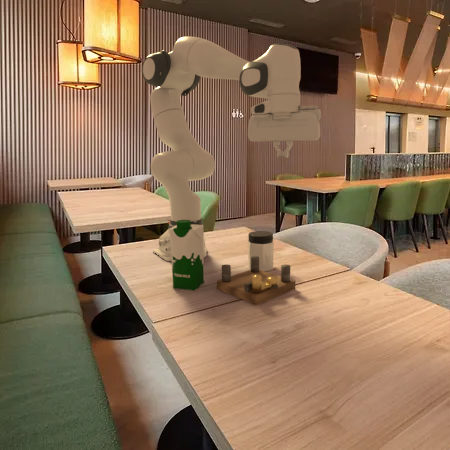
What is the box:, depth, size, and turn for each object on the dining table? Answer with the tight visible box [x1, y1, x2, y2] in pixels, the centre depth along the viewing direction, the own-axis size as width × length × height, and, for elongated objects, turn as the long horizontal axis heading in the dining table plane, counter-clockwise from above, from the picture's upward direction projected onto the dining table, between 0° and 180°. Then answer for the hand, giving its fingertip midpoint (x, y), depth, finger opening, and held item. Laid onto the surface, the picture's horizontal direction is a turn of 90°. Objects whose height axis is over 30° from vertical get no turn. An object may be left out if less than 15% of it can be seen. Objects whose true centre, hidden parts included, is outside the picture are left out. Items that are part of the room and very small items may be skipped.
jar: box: [247, 230, 274, 272], centre depth 128 cm, size 9×8×12 cm
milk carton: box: [168, 220, 205, 291], centre depth 113 cm, size 9×9×20 cm
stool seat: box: [216, 256, 296, 306], centre depth 110 cm, size 16×16×7 cm
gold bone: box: [252, 274, 277, 292], centre depth 104 cm, size 9×3×4 cm, turn 132°
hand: (282, 157), depth 109 cm, fingers closed
